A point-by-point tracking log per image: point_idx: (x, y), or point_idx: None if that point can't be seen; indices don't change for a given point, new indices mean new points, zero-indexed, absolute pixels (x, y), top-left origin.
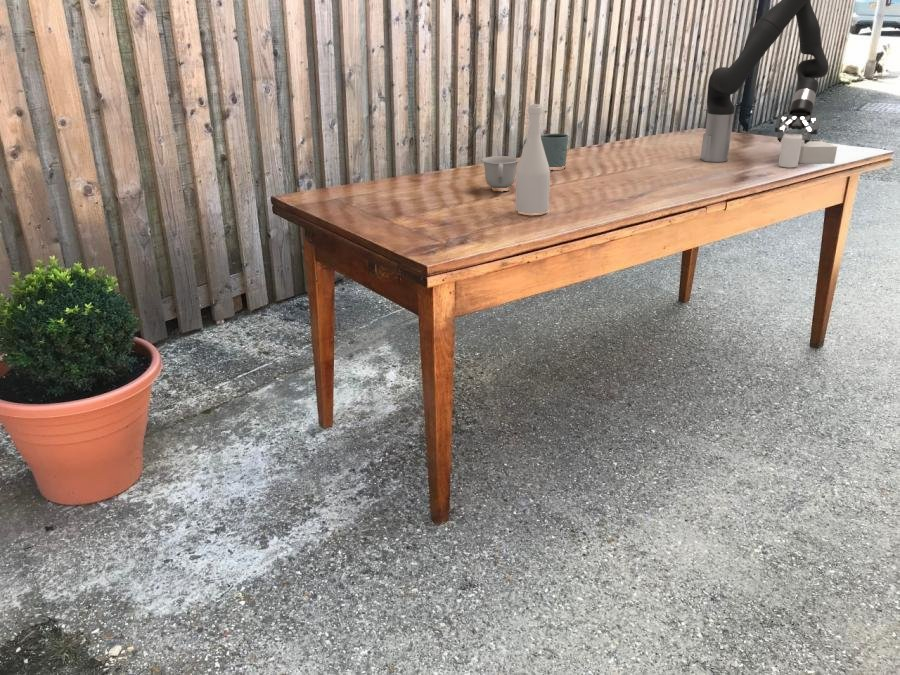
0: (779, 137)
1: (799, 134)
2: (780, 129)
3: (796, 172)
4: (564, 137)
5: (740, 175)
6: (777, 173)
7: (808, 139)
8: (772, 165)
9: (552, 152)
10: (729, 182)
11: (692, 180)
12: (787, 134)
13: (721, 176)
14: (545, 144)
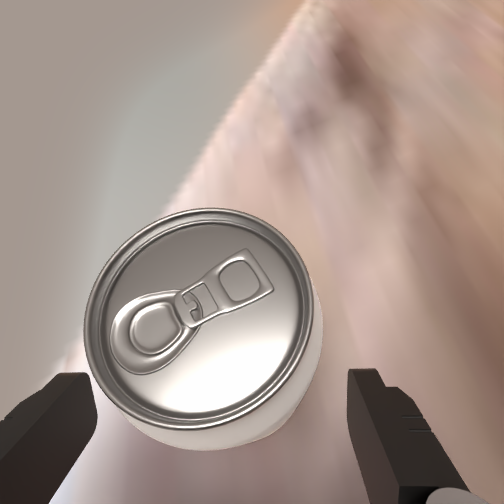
0: (376, 376)
1: (125, 252)
2: (467, 495)
3: None
4: None
5: (375, 103)
6: (261, 184)
7: (35, 393)
8: (335, 372)
9: None
10: (361, 28)
11: (462, 9)
12: (261, 230)
13: (423, 70)
14: None
